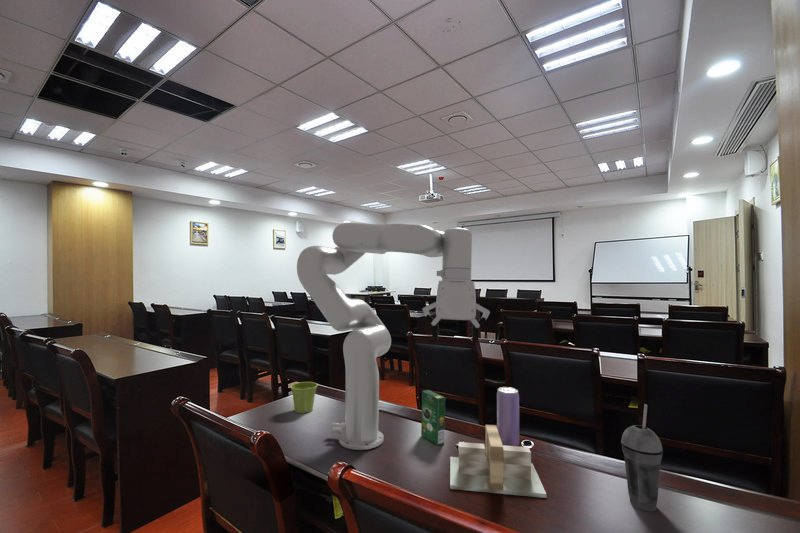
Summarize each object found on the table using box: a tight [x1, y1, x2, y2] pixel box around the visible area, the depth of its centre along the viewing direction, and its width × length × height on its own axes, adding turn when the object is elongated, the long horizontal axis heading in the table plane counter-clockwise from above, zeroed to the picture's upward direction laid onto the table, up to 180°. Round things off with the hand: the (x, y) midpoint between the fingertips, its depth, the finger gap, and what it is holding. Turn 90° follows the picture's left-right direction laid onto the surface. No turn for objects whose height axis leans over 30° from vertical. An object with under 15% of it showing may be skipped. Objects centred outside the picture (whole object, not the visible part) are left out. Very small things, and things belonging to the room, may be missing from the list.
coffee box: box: [420, 389, 446, 446], centre depth 102 cm, size 8×3×13 cm, turn 32°
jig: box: [449, 441, 548, 499], centre depth 82 cm, size 20×13×7 cm, turn 82°
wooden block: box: [484, 424, 503, 491], centre depth 82 cm, size 12×3×9 cm, turn 172°
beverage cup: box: [620, 403, 664, 512], centre depth 73 cm, size 7×7×20 cm
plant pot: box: [289, 381, 319, 414], centre depth 124 cm, size 9×9×9 cm
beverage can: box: [496, 386, 520, 446], centre depth 100 cm, size 6×6×15 cm
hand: (454, 341), depth 92 cm, fingers open, 9 cm apart
